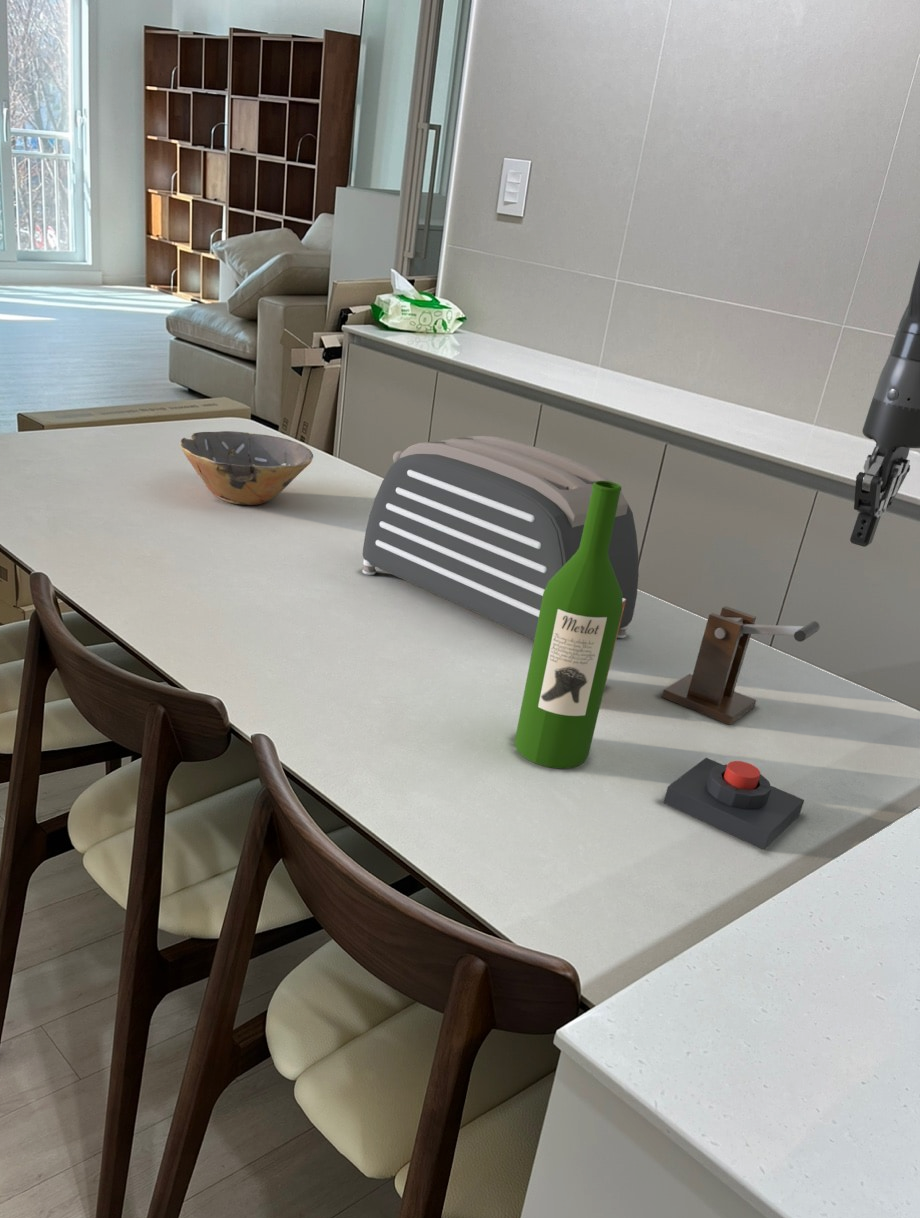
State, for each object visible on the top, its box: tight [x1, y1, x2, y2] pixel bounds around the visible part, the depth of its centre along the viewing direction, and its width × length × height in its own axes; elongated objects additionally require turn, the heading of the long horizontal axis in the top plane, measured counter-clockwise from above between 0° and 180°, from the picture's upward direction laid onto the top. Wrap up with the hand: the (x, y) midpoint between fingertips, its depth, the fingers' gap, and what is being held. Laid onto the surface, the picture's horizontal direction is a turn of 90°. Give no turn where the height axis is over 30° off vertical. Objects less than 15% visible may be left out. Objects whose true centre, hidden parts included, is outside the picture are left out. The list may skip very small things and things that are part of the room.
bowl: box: [179, 430, 314, 506], centre depth 199 cm, size 25×25×10 cm
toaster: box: [362, 435, 640, 640], centre depth 163 cm, size 19×45×24 cm, turn 44°
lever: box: [726, 617, 821, 643], centre depth 136 cm, size 12×5×2 cm, turn 49°
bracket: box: [661, 605, 757, 726], centre depth 141 cm, size 10×8×13 cm
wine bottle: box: [514, 481, 623, 769], centre depth 119 cm, size 9×9×32 cm
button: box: [724, 760, 762, 790], centre depth 117 cm, size 4×4×2 cm
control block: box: [663, 757, 805, 850], centre depth 118 cm, size 12×10×4 cm
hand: (860, 543), depth 130 cm, fingers closed
